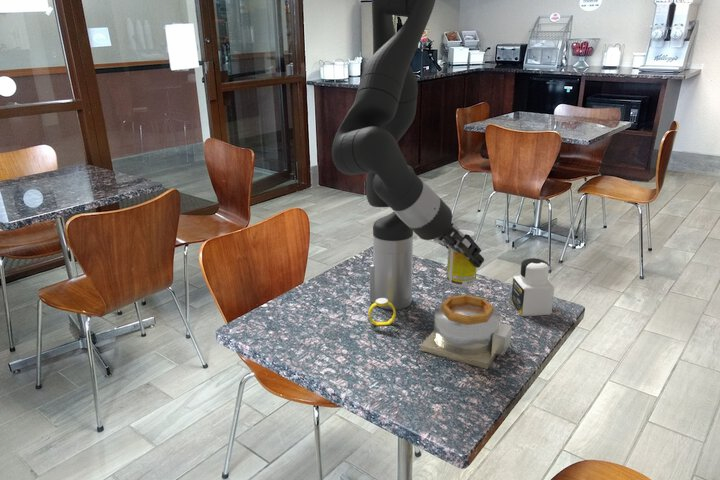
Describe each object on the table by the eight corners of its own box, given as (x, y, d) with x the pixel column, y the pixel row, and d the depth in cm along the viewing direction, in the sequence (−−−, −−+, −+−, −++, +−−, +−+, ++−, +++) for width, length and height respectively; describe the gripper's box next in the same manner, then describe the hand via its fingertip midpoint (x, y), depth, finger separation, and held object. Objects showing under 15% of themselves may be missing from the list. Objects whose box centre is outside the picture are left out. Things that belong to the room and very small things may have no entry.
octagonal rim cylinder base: (420, 350, 112) (421, 312, 109) (446, 321, 123) (447, 285, 120) (496, 371, 105) (499, 331, 102) (516, 338, 116) (519, 301, 113)
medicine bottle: (510, 302, 132) (514, 256, 127) (539, 301, 132) (544, 254, 128) (521, 316, 125) (525, 268, 121) (551, 315, 125) (557, 266, 121)
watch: (370, 329, 121) (368, 305, 119) (368, 323, 124) (366, 299, 122) (397, 325, 122) (395, 301, 119) (395, 319, 124) (393, 296, 122)
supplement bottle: (481, 284, 106) (485, 235, 102) (457, 290, 104) (460, 240, 100) (464, 273, 111) (467, 226, 107) (440, 279, 109) (443, 230, 105)
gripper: (459, 203, 91) (507, 255, 101) (410, 183, 103) (457, 231, 113) (432, 238, 91) (483, 287, 101) (386, 214, 102) (435, 260, 112)
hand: (469, 257), depth 107 cm, fingers closed on supplement bottle, 5 cm apart
